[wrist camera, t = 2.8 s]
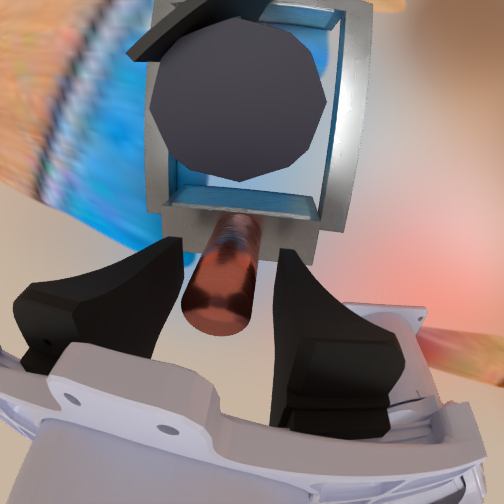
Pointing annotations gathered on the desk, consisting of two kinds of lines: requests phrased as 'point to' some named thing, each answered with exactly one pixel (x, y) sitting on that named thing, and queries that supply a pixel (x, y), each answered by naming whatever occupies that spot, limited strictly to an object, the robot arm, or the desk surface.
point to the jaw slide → (234, 246)
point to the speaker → (231, 89)
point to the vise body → (344, 107)
